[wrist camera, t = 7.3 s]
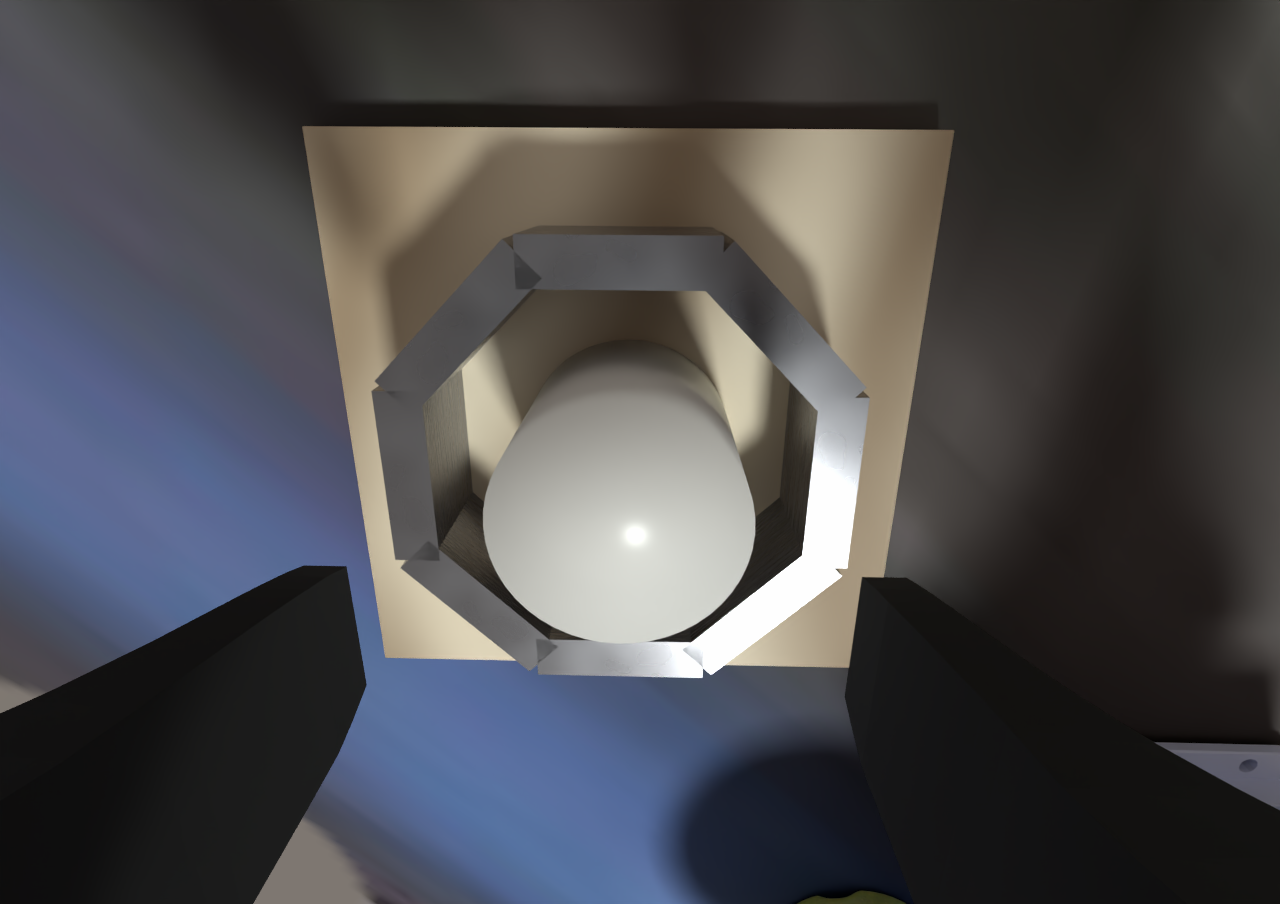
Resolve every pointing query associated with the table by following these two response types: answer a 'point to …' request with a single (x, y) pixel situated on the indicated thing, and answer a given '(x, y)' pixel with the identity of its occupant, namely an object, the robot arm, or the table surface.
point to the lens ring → (453, 515)
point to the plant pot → (855, 899)
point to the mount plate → (633, 304)
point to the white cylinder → (621, 498)
